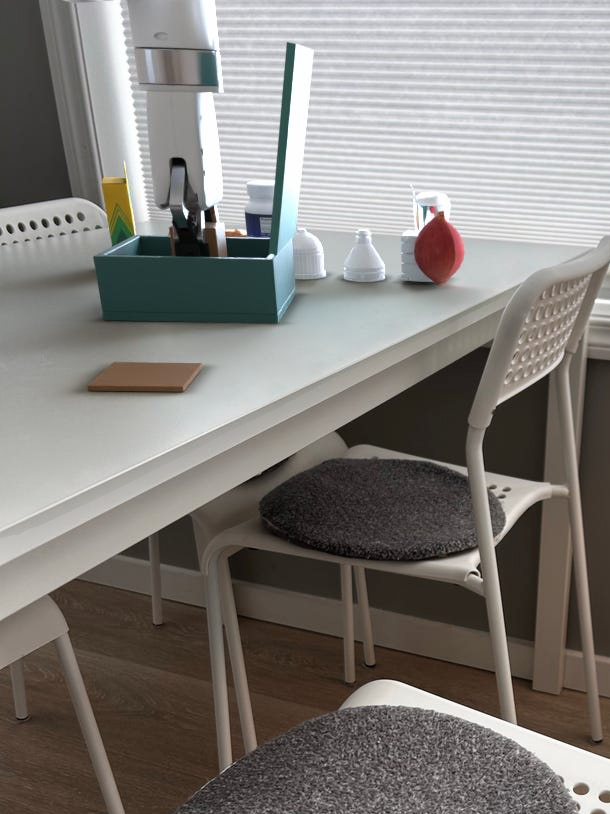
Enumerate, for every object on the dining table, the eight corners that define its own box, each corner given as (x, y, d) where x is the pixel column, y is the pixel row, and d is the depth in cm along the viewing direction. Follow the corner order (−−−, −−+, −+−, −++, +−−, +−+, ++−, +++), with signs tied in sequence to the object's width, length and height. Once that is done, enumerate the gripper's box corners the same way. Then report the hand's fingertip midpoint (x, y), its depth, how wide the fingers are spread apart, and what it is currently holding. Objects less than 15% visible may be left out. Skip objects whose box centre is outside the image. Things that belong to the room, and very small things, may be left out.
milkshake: (401, 271, 119) (399, 183, 114) (434, 267, 123) (434, 182, 117) (422, 276, 116) (422, 186, 111) (456, 272, 120) (457, 185, 114)
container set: (448, 278, 116) (449, 230, 114) (443, 286, 112) (443, 236, 109) (288, 271, 118) (285, 223, 115) (277, 278, 113) (273, 228, 110)
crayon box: (115, 263, 119) (99, 160, 113) (140, 262, 120) (125, 160, 114) (115, 273, 113) (97, 164, 107) (141, 272, 114) (125, 164, 108)
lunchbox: (103, 320, 91) (92, 256, 88) (142, 292, 103) (134, 234, 100) (278, 323, 92) (273, 259, 89) (296, 294, 104) (292, 238, 101)
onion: (407, 287, 109) (406, 211, 105) (424, 280, 114) (423, 207, 110) (454, 290, 108) (455, 214, 104) (470, 283, 112) (471, 209, 109)
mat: (87, 390, 70) (86, 385, 70) (114, 366, 76) (113, 361, 76) (183, 391, 71) (182, 386, 70) (202, 368, 77) (201, 362, 76)
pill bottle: (246, 268, 118) (238, 180, 113) (292, 266, 120) (286, 179, 115) (253, 276, 114) (245, 184, 109) (301, 274, 115) (295, 184, 110)
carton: (178, 302, 95) (168, 227, 92) (188, 294, 99) (178, 221, 95) (223, 303, 95) (215, 228, 92) (231, 294, 99) (224, 222, 96)
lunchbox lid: (286, 41, 80) (296, 44, 80) (305, 48, 93) (313, 50, 93) (268, 253, 88) (277, 255, 89) (288, 232, 101) (295, 234, 101)
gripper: (160, 73, 94) (184, 266, 103) (111, 71, 80) (144, 296, 89) (236, 76, 95) (254, 267, 104) (201, 74, 80) (225, 297, 89)
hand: (203, 278), depth 96 cm, fingers open, 5 cm apart
